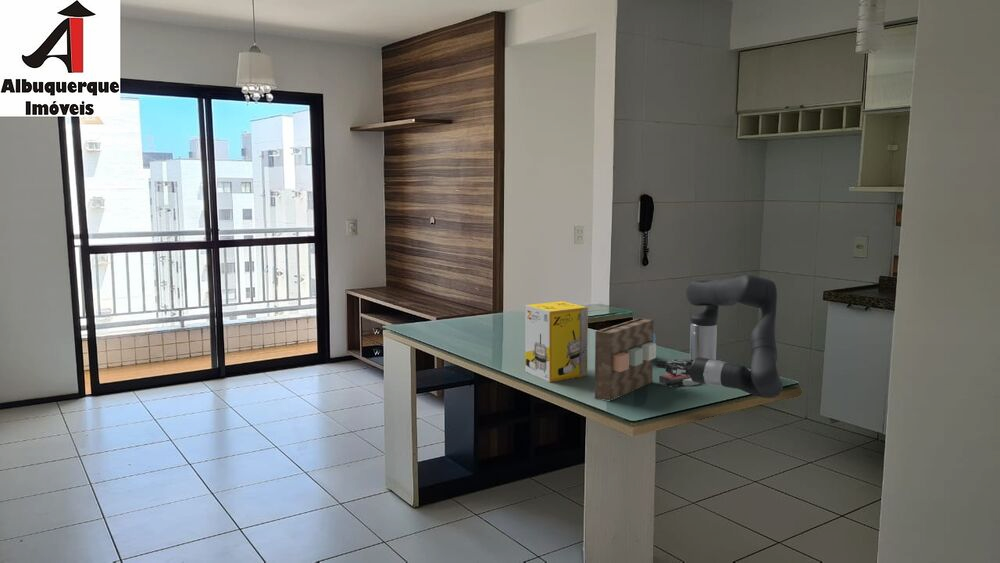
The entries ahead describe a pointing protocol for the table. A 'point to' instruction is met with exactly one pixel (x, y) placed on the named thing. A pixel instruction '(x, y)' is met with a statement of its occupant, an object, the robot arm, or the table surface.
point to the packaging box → (556, 340)
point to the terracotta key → (620, 361)
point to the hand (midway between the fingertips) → (656, 363)
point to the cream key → (649, 351)
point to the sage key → (635, 356)
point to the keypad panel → (620, 341)
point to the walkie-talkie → (676, 380)
